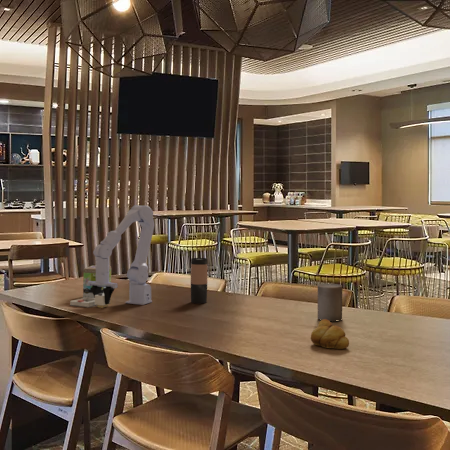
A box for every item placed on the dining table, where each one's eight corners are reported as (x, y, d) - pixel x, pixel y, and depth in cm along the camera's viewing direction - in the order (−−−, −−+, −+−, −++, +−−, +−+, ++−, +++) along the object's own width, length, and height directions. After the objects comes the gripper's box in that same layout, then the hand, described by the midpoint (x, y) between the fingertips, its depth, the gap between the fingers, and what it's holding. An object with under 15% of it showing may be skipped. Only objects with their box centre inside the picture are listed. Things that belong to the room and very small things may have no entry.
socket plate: (104, 303, 252) (104, 297, 252) (88, 307, 242) (88, 301, 242) (86, 301, 257) (86, 295, 257) (69, 305, 247) (69, 299, 247)
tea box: (104, 300, 259) (104, 268, 259) (82, 300, 260) (82, 268, 259) (111, 295, 274) (111, 264, 274) (90, 294, 275) (90, 264, 274)
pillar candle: (343, 318, 226) (343, 280, 225) (341, 323, 217) (341, 284, 216) (318, 316, 229) (318, 280, 228) (315, 321, 219) (316, 283, 219)
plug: (110, 306, 246) (110, 292, 246) (103, 308, 242) (103, 294, 241) (101, 305, 248) (101, 291, 248) (94, 307, 244) (94, 293, 243)
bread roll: (355, 348, 180) (355, 323, 180) (335, 353, 174) (335, 327, 174) (324, 340, 190) (325, 316, 190) (304, 344, 184) (305, 320, 184)
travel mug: (208, 300, 261) (208, 257, 260) (206, 303, 253) (206, 259, 253) (191, 300, 262) (192, 257, 261) (189, 303, 254) (189, 259, 253)
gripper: (83, 272, 244) (83, 303, 244) (110, 274, 238) (110, 306, 238) (93, 270, 250) (93, 300, 251) (120, 272, 244) (120, 303, 245)
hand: (102, 303), depth 245 cm, fingers closed on plug, 4 cm apart
